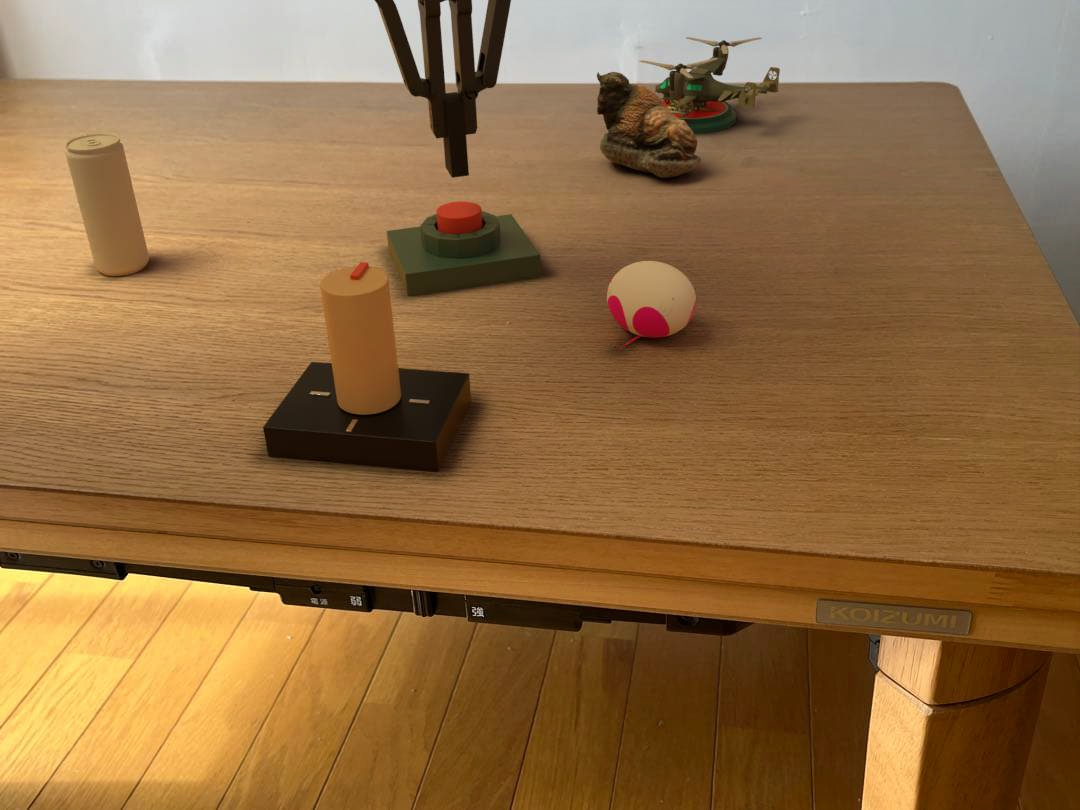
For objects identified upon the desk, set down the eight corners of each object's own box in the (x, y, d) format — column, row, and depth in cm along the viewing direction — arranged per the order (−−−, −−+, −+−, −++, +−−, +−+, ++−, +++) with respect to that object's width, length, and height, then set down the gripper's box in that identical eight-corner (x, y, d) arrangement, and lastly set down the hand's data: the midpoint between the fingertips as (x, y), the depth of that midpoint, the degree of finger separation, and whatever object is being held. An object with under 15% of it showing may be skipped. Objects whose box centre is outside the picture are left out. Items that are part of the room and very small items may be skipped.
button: (442, 239, 97) (441, 220, 96) (433, 222, 100) (432, 204, 100) (487, 233, 98) (486, 214, 97) (476, 216, 101) (475, 198, 100)
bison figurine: (709, 171, 120) (714, 77, 115) (678, 191, 115) (682, 94, 110) (613, 153, 126) (614, 63, 120) (580, 172, 121) (579, 79, 116)
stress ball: (601, 361, 92) (568, 318, 87) (648, 284, 94) (619, 237, 88) (676, 388, 87) (646, 344, 82) (724, 306, 89) (698, 258, 84)
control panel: (268, 457, 75) (261, 425, 74) (315, 390, 83) (310, 359, 81) (438, 473, 73) (435, 439, 72) (471, 402, 81) (469, 371, 79)
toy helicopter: (683, 92, 145) (686, 26, 141) (795, 108, 138) (802, 39, 133) (608, 136, 131) (609, 64, 126) (729, 156, 124) (733, 81, 119)
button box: (407, 297, 96) (403, 254, 94) (388, 252, 104) (384, 212, 102) (541, 277, 98) (539, 235, 96) (512, 235, 107) (510, 195, 104)
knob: (390, 417, 74) (375, 292, 70) (328, 412, 75) (309, 288, 70) (409, 384, 78) (396, 263, 73) (349, 380, 79) (333, 260, 74)
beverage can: (101, 282, 100) (68, 154, 94) (91, 264, 104) (59, 138, 97) (155, 270, 102) (126, 143, 96) (144, 252, 106) (115, 129, 99)
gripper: (505, -138, 89) (518, 149, 101) (342, -127, 86) (376, 166, 98) (530, -128, 82) (540, 176, 95) (356, -116, 80) (390, 196, 92)
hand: (457, 171), depth 97 cm, fingers closed
